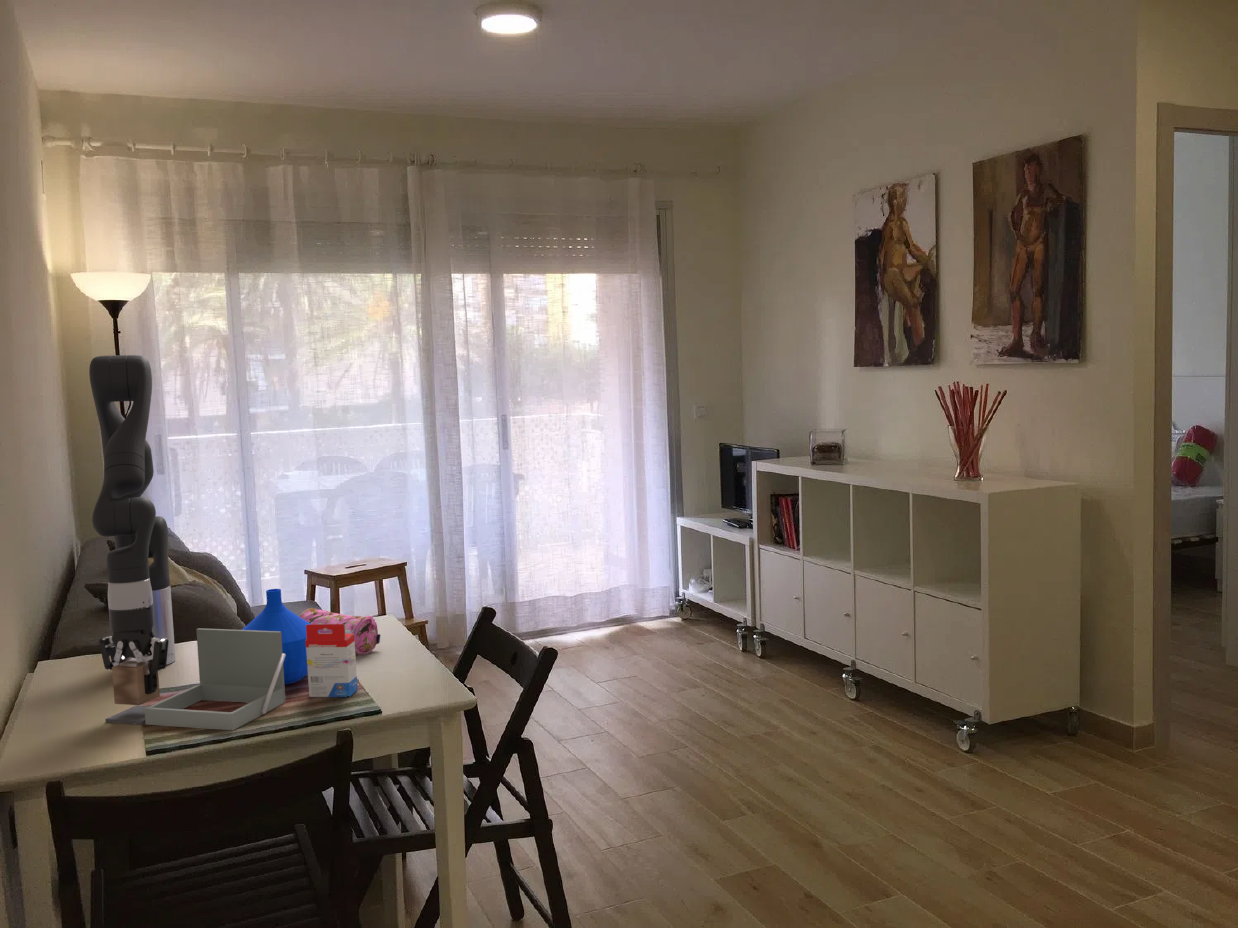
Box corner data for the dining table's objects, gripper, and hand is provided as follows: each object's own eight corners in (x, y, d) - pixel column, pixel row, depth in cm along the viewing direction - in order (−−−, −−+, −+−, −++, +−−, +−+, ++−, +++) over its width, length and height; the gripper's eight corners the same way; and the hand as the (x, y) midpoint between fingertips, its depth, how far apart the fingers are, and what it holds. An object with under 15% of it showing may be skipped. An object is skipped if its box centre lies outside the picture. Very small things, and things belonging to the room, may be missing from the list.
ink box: (358, 690, 206) (354, 618, 205) (349, 697, 201) (345, 624, 200) (317, 690, 207) (313, 618, 206) (307, 697, 202) (303, 624, 201)
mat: (105, 721, 191) (105, 718, 191) (136, 708, 198) (135, 705, 198) (141, 724, 189) (141, 721, 189) (171, 710, 196) (171, 707, 196)
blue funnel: (215, 682, 214) (209, 592, 213) (294, 662, 228) (289, 578, 226) (261, 698, 202) (256, 603, 201) (341, 676, 216) (336, 587, 214)
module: (114, 703, 191) (111, 664, 191) (135, 694, 197) (132, 656, 196) (139, 705, 190) (136, 665, 189) (159, 696, 195) (157, 657, 195)
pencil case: (385, 649, 238) (383, 612, 237) (355, 659, 230) (353, 620, 229) (320, 639, 249) (318, 603, 248) (290, 648, 241) (288, 611, 240)
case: (145, 724, 189) (140, 649, 188) (203, 697, 204) (199, 628, 203) (236, 730, 184) (232, 653, 182) (289, 702, 199) (285, 631, 198)
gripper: (83, 607, 190) (90, 696, 191) (149, 609, 186) (155, 700, 188) (113, 598, 197) (119, 684, 199) (177, 600, 194) (182, 688, 195)
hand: (137, 691), depth 193 cm, fingers closed on module, 5 cm apart
